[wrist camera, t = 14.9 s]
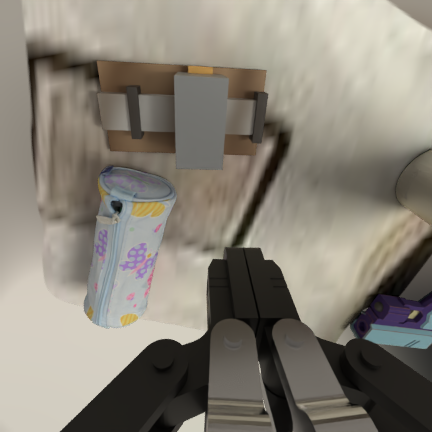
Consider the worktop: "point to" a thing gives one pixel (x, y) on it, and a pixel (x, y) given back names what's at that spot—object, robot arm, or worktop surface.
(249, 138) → the rail board
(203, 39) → the worktop surface
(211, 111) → the din module
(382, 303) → the pistol
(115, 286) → the pencil case
